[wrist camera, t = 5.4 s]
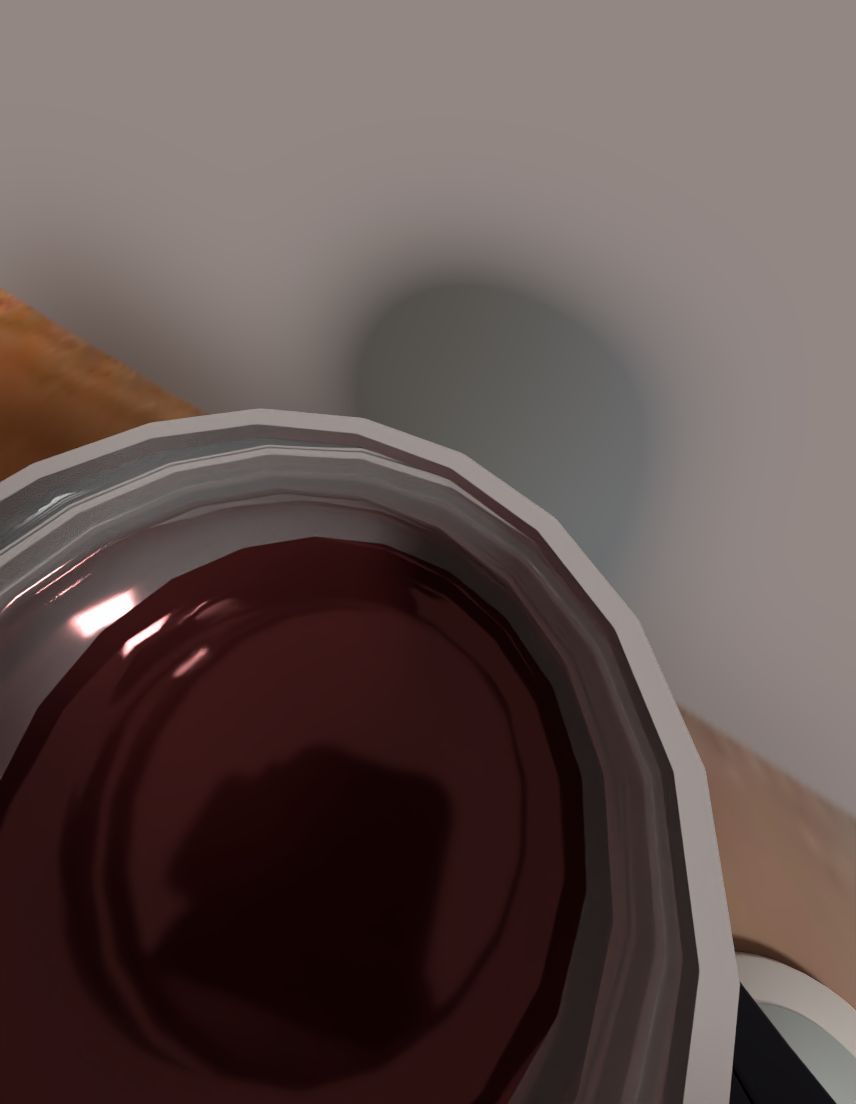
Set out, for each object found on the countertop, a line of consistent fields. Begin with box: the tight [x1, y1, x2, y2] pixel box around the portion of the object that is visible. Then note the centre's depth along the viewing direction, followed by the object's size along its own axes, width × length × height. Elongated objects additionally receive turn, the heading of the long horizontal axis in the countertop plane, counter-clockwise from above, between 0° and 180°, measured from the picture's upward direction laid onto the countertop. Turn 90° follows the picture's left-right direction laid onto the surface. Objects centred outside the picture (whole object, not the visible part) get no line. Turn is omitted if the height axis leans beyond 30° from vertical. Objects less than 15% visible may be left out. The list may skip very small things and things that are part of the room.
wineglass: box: [0, 408, 740, 1104], centre depth 8 cm, size 7×7×12 cm
